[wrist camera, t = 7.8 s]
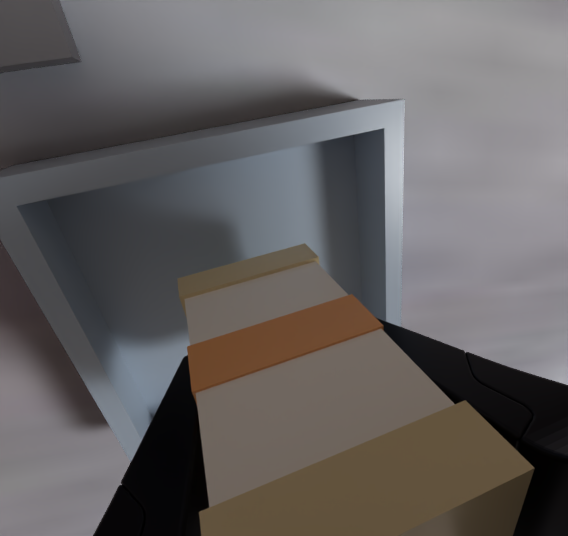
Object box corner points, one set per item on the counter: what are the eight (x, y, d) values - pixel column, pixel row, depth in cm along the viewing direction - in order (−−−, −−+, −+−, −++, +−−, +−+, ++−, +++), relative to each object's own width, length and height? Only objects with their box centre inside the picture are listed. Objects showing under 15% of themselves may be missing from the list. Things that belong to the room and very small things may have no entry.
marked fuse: (304, 243, 10) (535, 467, 4) (317, 341, 11) (490, 603, 5) (177, 278, 9) (209, 627, 3) (211, 377, 11) (275, 728, 5)
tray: (360, 99, 11) (404, 99, 9) (370, 342, 16) (400, 377, 14) (10, 166, 9) (-33, 183, 7) (143, 423, 14) (140, 478, 12)
